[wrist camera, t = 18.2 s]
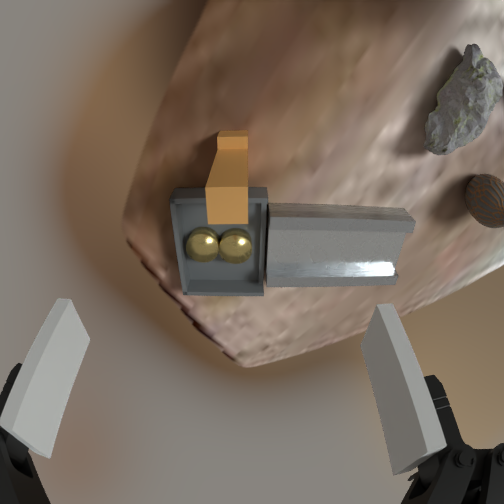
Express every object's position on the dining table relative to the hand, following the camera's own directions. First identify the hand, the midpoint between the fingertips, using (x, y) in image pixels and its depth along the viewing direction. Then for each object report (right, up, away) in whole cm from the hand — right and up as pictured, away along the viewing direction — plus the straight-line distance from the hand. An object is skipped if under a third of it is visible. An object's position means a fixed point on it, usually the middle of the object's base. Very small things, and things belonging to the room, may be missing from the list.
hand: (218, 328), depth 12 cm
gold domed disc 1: (-5, +5, +26) cm, 27 cm away
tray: (-2, +5, +27) cm, 27 cm away
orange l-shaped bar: (-1, +14, +20) cm, 25 cm away
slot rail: (+12, +5, +27) cm, 30 cm away
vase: (+33, +12, +22) cm, 42 cm away
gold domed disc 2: (-1, +4, +26) cm, 27 cm away
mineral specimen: (+26, +22, +15) cm, 38 cm away
